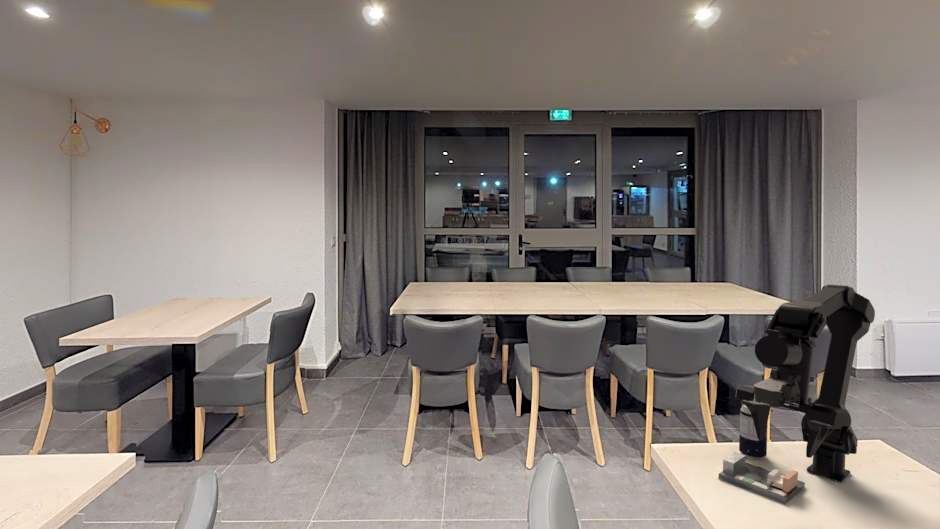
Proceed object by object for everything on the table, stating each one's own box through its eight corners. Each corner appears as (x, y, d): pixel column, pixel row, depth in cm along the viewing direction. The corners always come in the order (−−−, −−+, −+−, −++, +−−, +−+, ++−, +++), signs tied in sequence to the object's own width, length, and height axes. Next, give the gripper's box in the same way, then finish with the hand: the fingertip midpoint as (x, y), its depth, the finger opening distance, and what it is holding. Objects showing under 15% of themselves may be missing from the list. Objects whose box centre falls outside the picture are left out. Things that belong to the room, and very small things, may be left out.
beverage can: (770, 462, 112) (771, 411, 112) (743, 460, 114) (745, 410, 113) (761, 451, 118) (762, 402, 117) (735, 449, 119) (736, 401, 118)
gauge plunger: (776, 476, 103) (776, 464, 103) (797, 484, 100) (797, 471, 100) (762, 487, 99) (762, 474, 99) (784, 495, 96) (784, 482, 96)
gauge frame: (739, 464, 111) (739, 449, 111) (804, 487, 101) (805, 471, 101) (718, 478, 105) (718, 462, 105) (785, 504, 95) (786, 487, 95)
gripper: (723, 355, 100) (713, 431, 99) (822, 377, 83) (811, 468, 82) (756, 359, 105) (747, 432, 104) (856, 380, 88) (846, 467, 87)
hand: (783, 448), depth 94 cm, fingers open, 9 cm apart
